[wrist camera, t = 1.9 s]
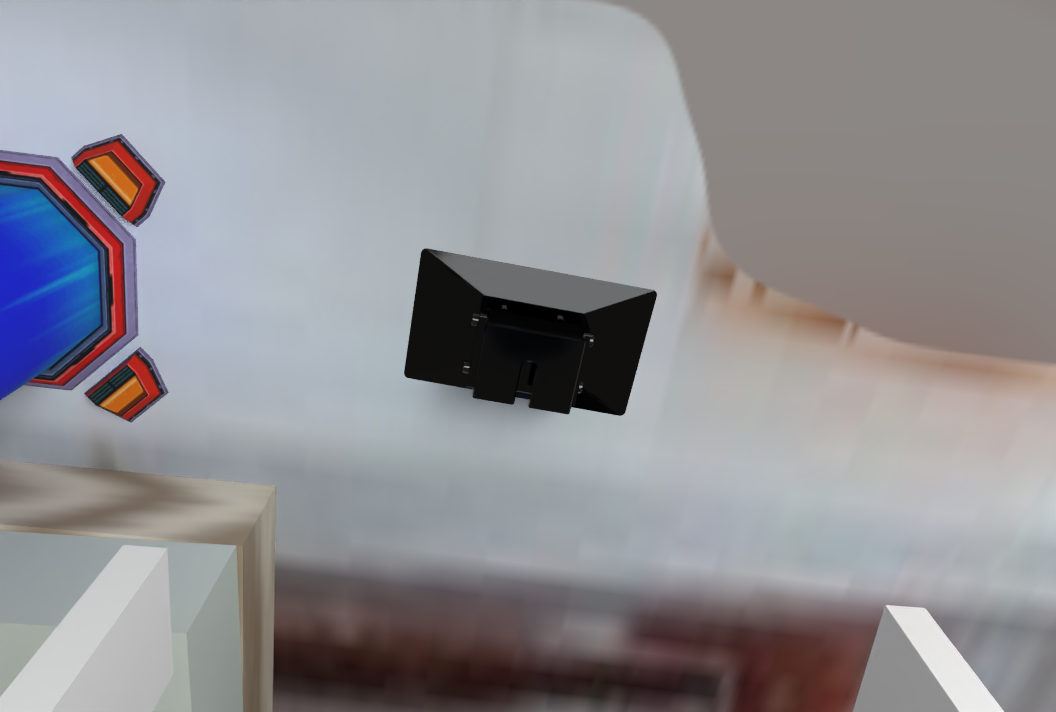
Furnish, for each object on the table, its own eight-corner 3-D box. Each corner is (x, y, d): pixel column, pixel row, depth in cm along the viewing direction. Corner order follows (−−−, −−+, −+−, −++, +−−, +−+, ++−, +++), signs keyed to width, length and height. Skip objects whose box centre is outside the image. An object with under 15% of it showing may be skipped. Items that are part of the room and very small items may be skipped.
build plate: (364, 382, 34) (343, 428, 30) (388, 211, 32) (369, 234, 27) (652, 433, 35) (671, 485, 31) (696, 271, 33) (724, 302, 28)
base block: (278, 481, 35) (242, 545, 30) (274, 749, 40) (242, 839, 35) (-7, 454, 34) (-89, 516, 30) (24, 730, 39) (-42, 820, 35)
